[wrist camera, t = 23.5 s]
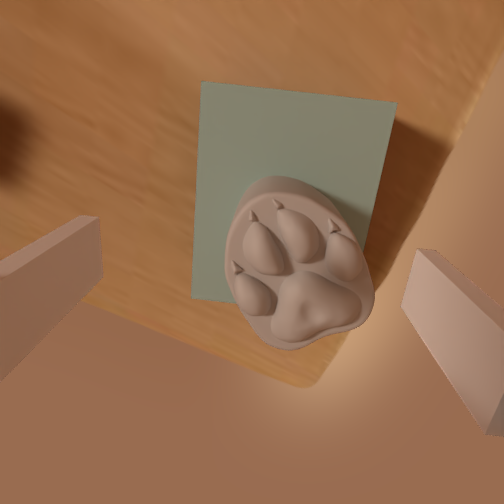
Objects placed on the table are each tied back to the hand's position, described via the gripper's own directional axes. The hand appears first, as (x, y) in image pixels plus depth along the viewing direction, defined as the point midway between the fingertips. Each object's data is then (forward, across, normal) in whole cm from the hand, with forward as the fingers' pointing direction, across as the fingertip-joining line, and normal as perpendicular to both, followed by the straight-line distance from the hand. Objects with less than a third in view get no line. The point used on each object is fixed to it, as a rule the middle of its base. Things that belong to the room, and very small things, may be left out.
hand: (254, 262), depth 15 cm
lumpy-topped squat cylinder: (+18, +3, -5) cm, 19 cm away
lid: (+19, +2, -3) cm, 19 cm away
